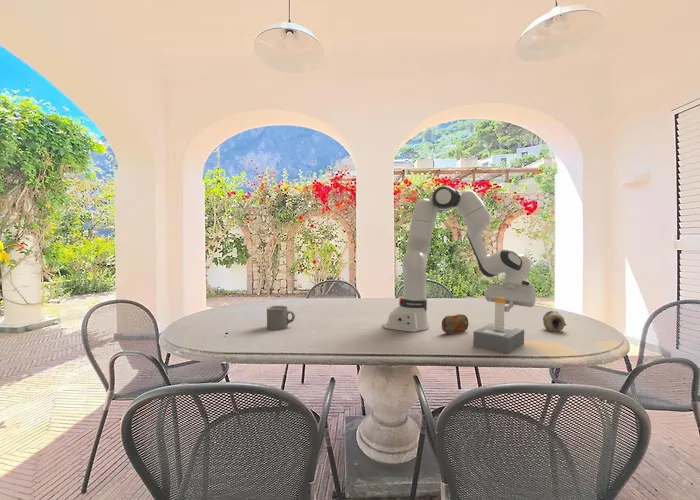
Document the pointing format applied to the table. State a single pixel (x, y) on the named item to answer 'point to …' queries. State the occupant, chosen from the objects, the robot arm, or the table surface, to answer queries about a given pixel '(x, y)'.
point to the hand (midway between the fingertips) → (504, 310)
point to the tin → (455, 324)
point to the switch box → (498, 338)
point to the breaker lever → (499, 312)
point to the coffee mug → (278, 317)
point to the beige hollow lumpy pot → (553, 321)
